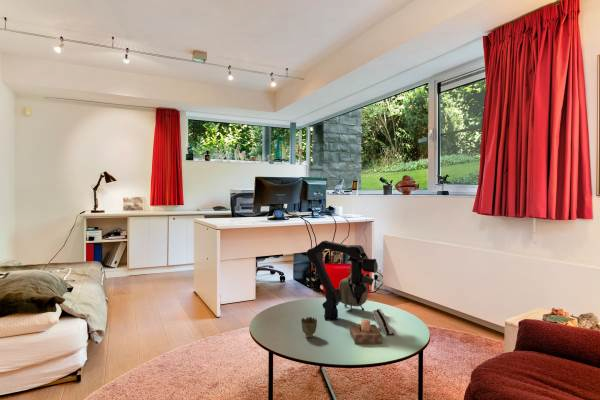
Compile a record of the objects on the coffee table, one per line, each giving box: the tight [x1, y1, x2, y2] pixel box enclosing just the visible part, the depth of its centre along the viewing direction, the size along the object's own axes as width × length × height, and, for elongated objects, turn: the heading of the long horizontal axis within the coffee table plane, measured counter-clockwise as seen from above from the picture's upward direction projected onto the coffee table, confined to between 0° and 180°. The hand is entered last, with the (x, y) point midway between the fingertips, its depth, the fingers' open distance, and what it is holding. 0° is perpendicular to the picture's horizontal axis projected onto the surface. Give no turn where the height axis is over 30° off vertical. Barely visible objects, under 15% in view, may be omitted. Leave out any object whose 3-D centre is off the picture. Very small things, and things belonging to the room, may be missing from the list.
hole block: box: [349, 324, 383, 345], centre depth 158 cm, size 12×12×4 cm
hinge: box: [372, 308, 396, 336], centre depth 170 cm, size 17×5×10 cm, turn 1°
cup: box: [300, 316, 318, 339], centre depth 159 cm, size 8×7×8 cm
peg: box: [360, 318, 371, 332], centre depth 158 cm, size 4×4×8 cm
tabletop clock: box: [338, 266, 368, 312], centre depth 195 cm, size 14×9×25 cm, turn 58°
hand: (356, 300), depth 175 cm, fingers open, 9 cm apart
